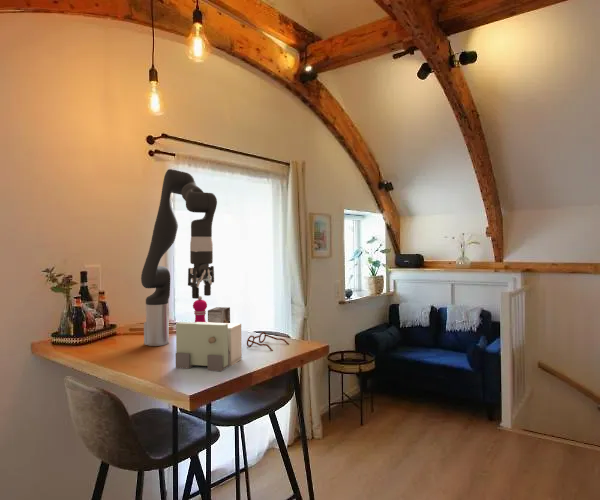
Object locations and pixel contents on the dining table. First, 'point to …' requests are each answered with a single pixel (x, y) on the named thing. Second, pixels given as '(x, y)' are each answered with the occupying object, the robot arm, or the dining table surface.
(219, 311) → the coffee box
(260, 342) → the glasses
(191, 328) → the door
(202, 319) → the pepper mill
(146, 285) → the robot arm
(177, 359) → the cabinet
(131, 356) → the dining table surface
